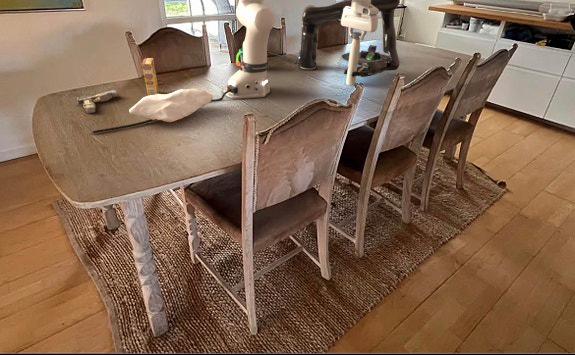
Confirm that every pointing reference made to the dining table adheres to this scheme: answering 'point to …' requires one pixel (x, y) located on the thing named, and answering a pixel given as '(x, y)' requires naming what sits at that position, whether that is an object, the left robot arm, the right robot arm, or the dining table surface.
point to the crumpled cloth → (171, 104)
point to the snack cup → (240, 55)
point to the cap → (356, 35)
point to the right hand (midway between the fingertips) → (348, 73)
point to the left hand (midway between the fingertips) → (356, 38)
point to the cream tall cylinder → (353, 61)
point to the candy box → (150, 76)
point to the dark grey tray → (367, 55)
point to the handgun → (95, 100)
